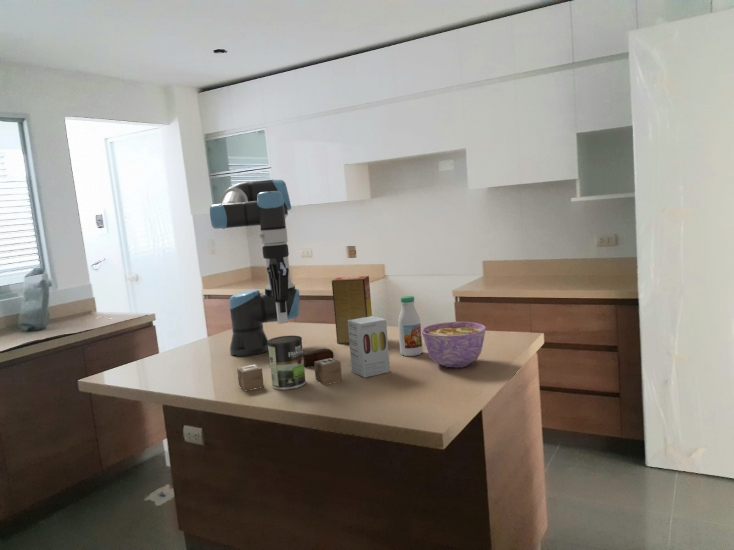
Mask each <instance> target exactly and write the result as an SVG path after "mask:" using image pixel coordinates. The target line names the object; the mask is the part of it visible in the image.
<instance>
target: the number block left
mask: <svg viewBox="0 0 734 550" xmlns="http://www.w3.org/2000/svg"><path fill="white" fill-rule="evenodd" d="M236 369H237V379H238V387H239V386H240V387H241V388H242V389H243V390H244V391H245V390H250V389H254V388H258V389H261V388H260V387H263V388H264V387H265V384H264V376H263V368H262V367H261V366H259V365H258V363H254V364H250V365H245V366H240V367H237V368H236ZM240 387H239V388H240ZM241 388H240V389H241ZM242 389H241V390H242ZM243 390H242V391H243ZM254 390H255V389H254ZM244 391H243V392H244ZM250 391H251V390H250ZM245 392H246V391H245Z"/></svg>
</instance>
